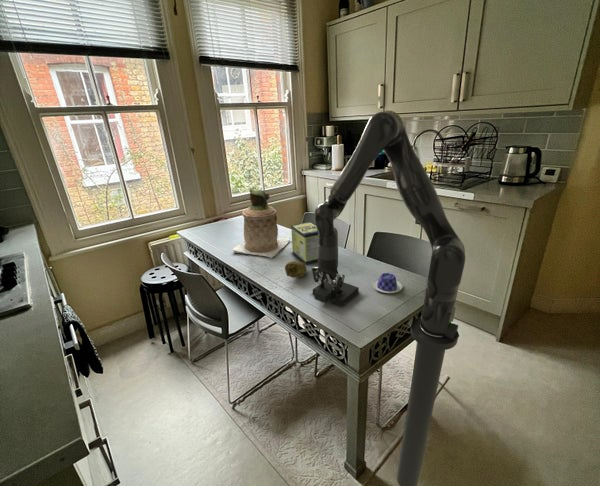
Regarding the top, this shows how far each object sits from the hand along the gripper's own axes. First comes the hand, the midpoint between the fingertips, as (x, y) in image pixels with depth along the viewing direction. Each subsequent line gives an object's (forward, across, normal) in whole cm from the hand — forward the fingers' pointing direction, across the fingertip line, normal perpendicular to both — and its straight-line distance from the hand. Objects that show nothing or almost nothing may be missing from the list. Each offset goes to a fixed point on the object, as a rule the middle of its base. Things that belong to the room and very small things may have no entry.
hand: (327, 294), depth 122 cm
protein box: (+2, +31, -27) cm, 41 cm away
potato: (+2, +22, -8) cm, 23 cm away
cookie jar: (+2, +59, -22) cm, 63 cm away
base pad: (+2, 0, -6) cm, 6 cm away
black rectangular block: (0, 0, 0) cm, 0 cm away
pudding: (+3, -14, -23) cm, 27 cm away
